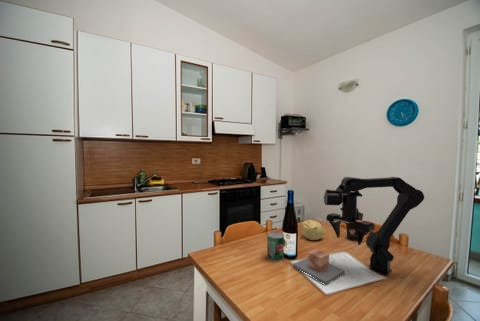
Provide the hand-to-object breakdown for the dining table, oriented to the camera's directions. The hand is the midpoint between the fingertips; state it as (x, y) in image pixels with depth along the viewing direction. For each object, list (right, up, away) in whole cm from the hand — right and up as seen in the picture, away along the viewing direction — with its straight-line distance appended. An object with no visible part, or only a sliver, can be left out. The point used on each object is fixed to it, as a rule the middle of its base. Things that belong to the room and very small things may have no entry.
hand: (348, 241), depth 93 cm
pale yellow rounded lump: (-4, -12, +34) cm, 36 cm away
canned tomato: (-31, -12, +9) cm, 34 cm away
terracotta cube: (-14, -10, -2) cm, 18 cm away
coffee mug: (+21, -12, +32) cm, 40 cm away
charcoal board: (-14, -12, -2) cm, 19 cm away
